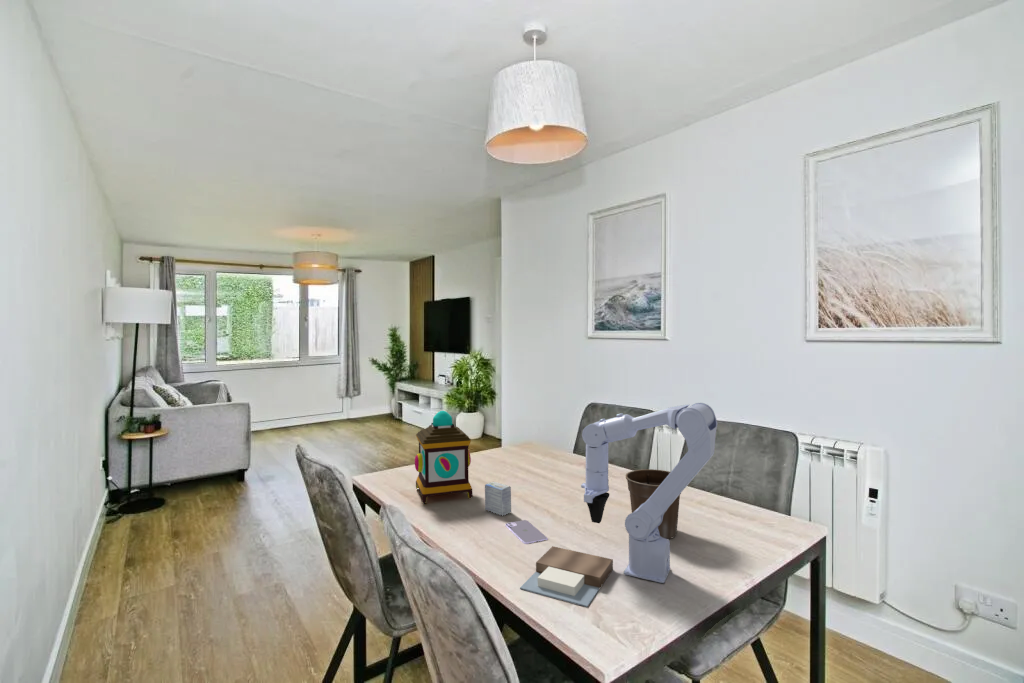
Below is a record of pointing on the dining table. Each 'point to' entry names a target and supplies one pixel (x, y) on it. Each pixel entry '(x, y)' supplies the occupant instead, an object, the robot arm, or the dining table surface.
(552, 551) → the walnut board
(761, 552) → the dining table surface
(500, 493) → the stack of paper
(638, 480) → the plant pot
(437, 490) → the decorative lantern
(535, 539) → the mobile phone
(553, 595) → the slate mat
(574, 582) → the cream block
